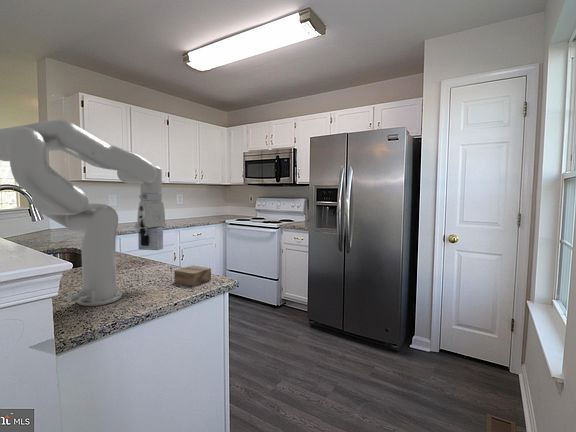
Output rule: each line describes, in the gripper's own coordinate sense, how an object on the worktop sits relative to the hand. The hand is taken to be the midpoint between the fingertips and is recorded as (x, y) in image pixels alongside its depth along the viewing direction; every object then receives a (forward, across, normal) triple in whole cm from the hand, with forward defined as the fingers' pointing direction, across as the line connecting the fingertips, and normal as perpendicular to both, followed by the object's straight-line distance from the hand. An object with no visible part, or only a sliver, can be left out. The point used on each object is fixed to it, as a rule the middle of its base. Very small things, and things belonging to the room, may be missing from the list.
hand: (150, 244), depth 121 cm
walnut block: (+15, +9, -13) cm, 22 cm away
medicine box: (+2, 0, 0) cm, 2 cm away
